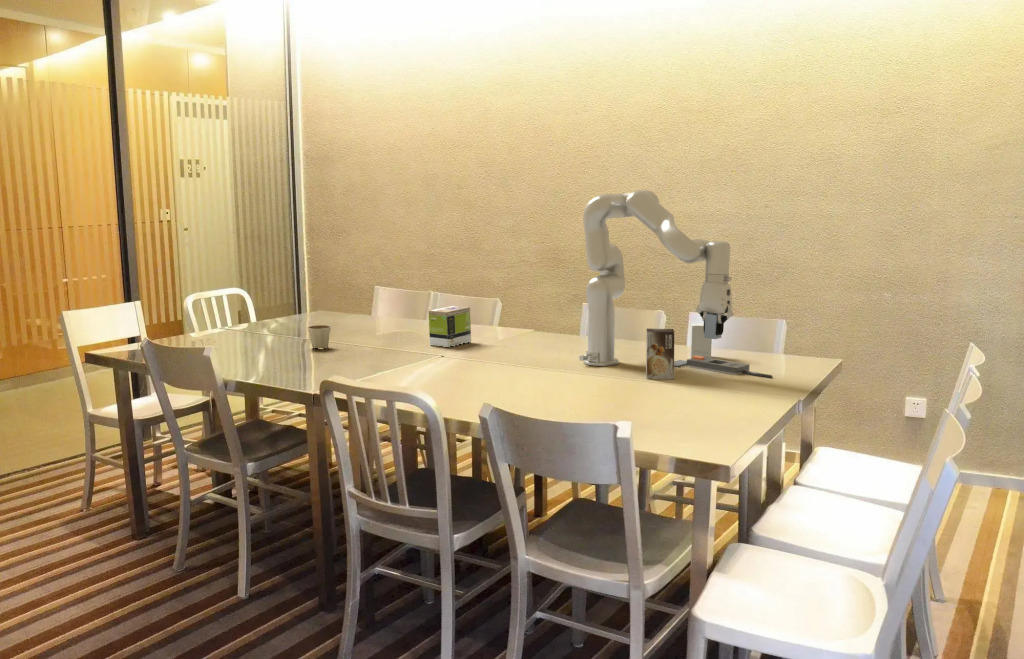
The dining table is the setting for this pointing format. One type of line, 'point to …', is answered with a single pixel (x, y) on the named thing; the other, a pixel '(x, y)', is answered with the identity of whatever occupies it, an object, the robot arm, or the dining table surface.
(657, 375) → the coffee box
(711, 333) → the block
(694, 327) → the supplement box
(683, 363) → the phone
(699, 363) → the power strip
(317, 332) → the flower pot
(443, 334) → the tea box
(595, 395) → the dining table surface
